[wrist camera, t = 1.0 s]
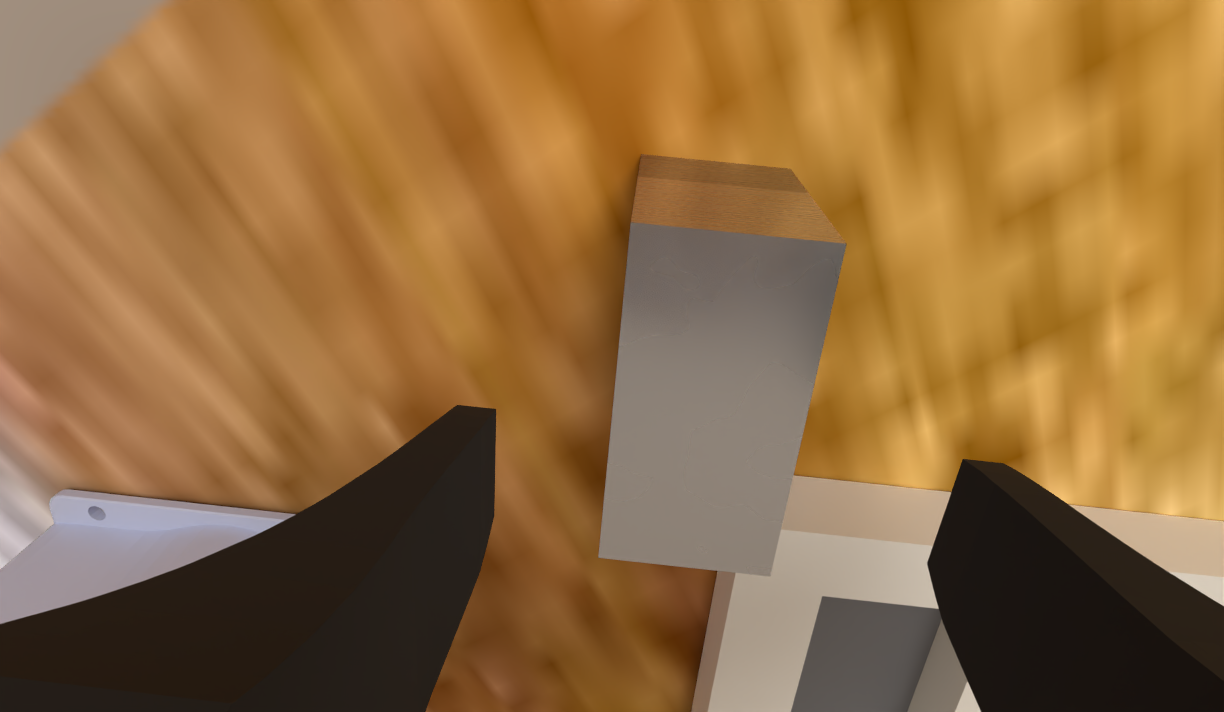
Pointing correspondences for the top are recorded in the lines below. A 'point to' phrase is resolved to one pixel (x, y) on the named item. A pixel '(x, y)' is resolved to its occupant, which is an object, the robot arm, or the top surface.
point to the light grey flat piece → (878, 603)
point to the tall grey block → (715, 362)
